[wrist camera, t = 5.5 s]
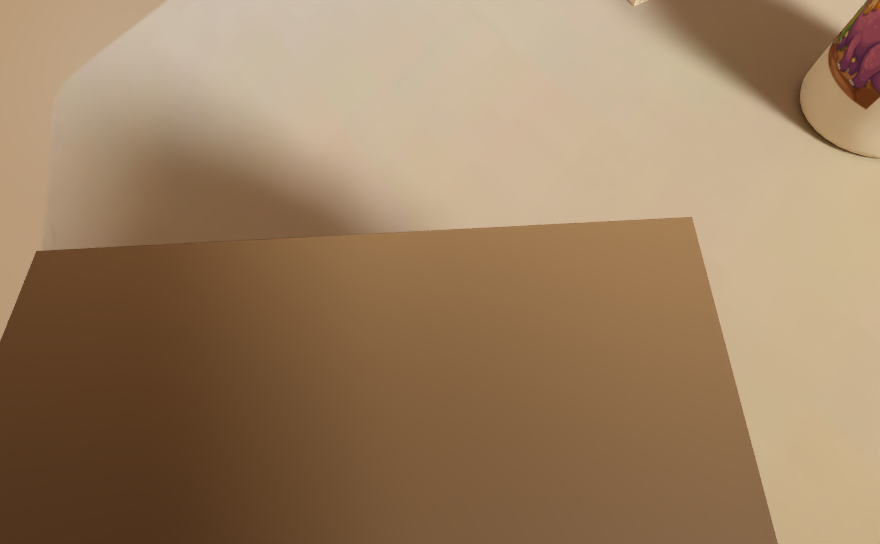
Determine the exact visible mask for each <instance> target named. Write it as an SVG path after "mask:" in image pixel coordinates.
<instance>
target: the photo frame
mask: <svg viewBox="0 0 880 544" xmlns="http://www.w3.org/2000/svg"><path fill="white" fill-rule="evenodd" d="M629 1H630V3H631V4H632V5H633V6H635V5H638V4H640V3H643V2H646V1H648V0H629Z"/></svg>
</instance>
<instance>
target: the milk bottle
mask: <svg viewBox="0 0 880 544" xmlns="http://www.w3.org/2000/svg"><path fill="white" fill-rule="evenodd" d="M800 104H801V108H802V112H803V113H804V115H805V117H806V119H807V121H808V122H809V123H810V124H811V126H812V127H813V128H814V129H815V130H816V131H817V132H818V133H819V134H821V135H822V136H823V137H824V138H825V139H827V140H828V141H830V142H832V143H833V144H835V145H836V146H838V147H841V148H843V149H845V150H848V151H850V152H853V153H856V154H860V155H863V156H867V157H874V158H880V0H867V1H866V2H865V4H864V5H863V6H862V7H861V8H860V10H859V11H858V12H857V13H856V14H855V15H854V17H853V18H852V19H851V20H850V21H849V23H848V24H847V25H846V26H845V27H844V29H843V30H842V31H841V32H840V33H839V35H838V36H837V37H836V38H835V39H834V41H833V42H832V43H831V44H830V45H829V47H828V48H827V49H826V50H825V51H824V53H823V54H822V55H821V56H820V57H819V59H818V60H817V61H816V63H815V64H814V65H813V66H812V68H811V69H810V70H809V71H808V73H807V74H806V76H805V77H804V80H803V82H802V86H801V91H800Z"/></svg>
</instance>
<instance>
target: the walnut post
mask: <svg viewBox="0 0 880 544" xmlns="http://www.w3.org/2000/svg"><path fill="white" fill-rule="evenodd" d="M0 544H778V543H777V539H776V535H775V531H774V528H773V524H772V520H771V516H770V512H769V509H768V505H767V501H766V497H765V493H764V490H763V486H762V482H761V478H760V474H759V471H758V467H757V463H756V459H755V455H754V452H753V448H752V444H751V440H750V436H749V433H748V429H747V425H746V421H745V417H744V414H743V410H742V406H741V402H740V398H739V395H738V391H737V387H736V383H735V379H734V376H733V372H732V368H731V364H730V360H729V357H728V353H727V349H726V345H725V341H724V338H723V334H722V330H721V326H720V322H719V319H718V315H717V311H716V307H715V304H714V300H713V296H712V292H711V288H710V285H709V281H708V277H707V273H706V269H705V266H704V262H703V258H702V254H701V250H700V247H699V243H698V239H697V235H696V231H695V228H694V224H693V220H692V217H683V218H664V219H645V220H625V221H606V222H587V223H568V224H549V225H529V226H510V227H491V228H472V229H452V230H433V231H414V232H395V233H376V234H356V235H337V236H318V237H299V238H279V239H260V240H241V241H222V242H203V243H183V244H164V245H145V246H126V247H106V248H87V249H68V250H49V251H36V254H35V256H34V259H33V261H32V264H31V266H30V269H29V271H28V274H27V276H26V279H25V281H24V284H23V286H22V289H21V291H20V294H19V296H18V299H17V302H16V304H15V307H14V309H13V311H12V314H11V316H10V319H9V321H8V324H7V326H6V329H5V331H4V334H3V336H2V339H1V341H0Z"/></svg>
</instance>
